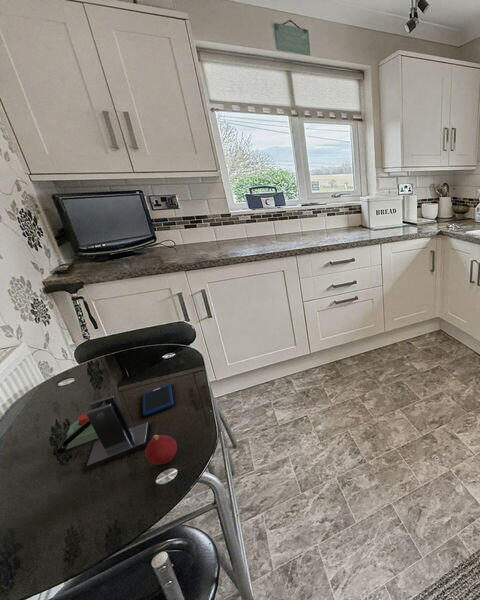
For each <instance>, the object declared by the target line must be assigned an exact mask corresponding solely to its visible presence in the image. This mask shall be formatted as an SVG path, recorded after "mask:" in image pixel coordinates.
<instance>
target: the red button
mask: <svg viewBox="0 0 480 600" xmlns="http://www.w3.org/2000/svg"><path fill="white" fill-rule="evenodd" d="M77 420H78V421H79V423H80V424H81V425H83V424H84V423H85V422H86V421H87V420H88V417H87V416H86V412H85V413H84V412H83V413H82V414H81V415H79V416H78V418H77Z"/></svg>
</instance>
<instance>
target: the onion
mask: <svg viewBox="0 0 480 600" xmlns="http://www.w3.org/2000/svg"><path fill="white" fill-rule="evenodd" d="M177 451H178V444H177V441H176V440H175V439H174V438H173V437H172V436H170V435H165V434H159V435H158V434H155V435H153V436H152V438H151V440H150V441H149V442H147V446H146V447H145V450H144V456H145V459H146V461H147V462H148V463H150V464H152V465H154V466H155V465H160V466H161V465H166V464H169V463H170V462H171V461H172V459H173V458H174V457H175V456H176V454H177Z"/></svg>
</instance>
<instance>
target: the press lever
mask: <svg viewBox="0 0 480 600" xmlns="http://www.w3.org/2000/svg"><path fill="white" fill-rule="evenodd" d="M108 404H109V403H107V402H105V401H104V402H103V403H102V404H100V405H99V406H98V407H97V408H99V407H102V406H105V405H108ZM112 407H113V408H114V406H113V405H112ZM90 425H91V423H90V421H89V419H88V420H87V421H86V422H85V423H84V424H83V425H81V426H80V427H79V428H78V429H77V430H75V431H74V432H73V433H72V434H71V435H67V434H66V435H64V436H62V438H61V440H60V442H59V444H58V447H57V448H56V450H55V452H56V453H57V454H59V455H60V454H63V453H65V452H66V450H67V449H66V448H67V446H68V444H69V443H70V442H71V441H72V440H74V439H75V438H76V437H77V436H78V435H79V434H81V433H82V432H83V431H84V430H85V429H86V428H88V427H89V426H90Z"/></svg>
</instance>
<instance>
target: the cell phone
mask: <svg viewBox="0 0 480 600" xmlns="http://www.w3.org/2000/svg"><path fill="white" fill-rule="evenodd" d="M174 405H175V402H174V396H173V390H172V385H171V384H170V383H167V384H165V385H162V386H159V387H156V388H154V389H151V390H148V391H145V392H143V393H142V415H143V417H148V416H150V415H151V416H152V415H153V414H156V413H158V412H160V411H163V410H166V409H168V408H171V407H173V406H174Z"/></svg>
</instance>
